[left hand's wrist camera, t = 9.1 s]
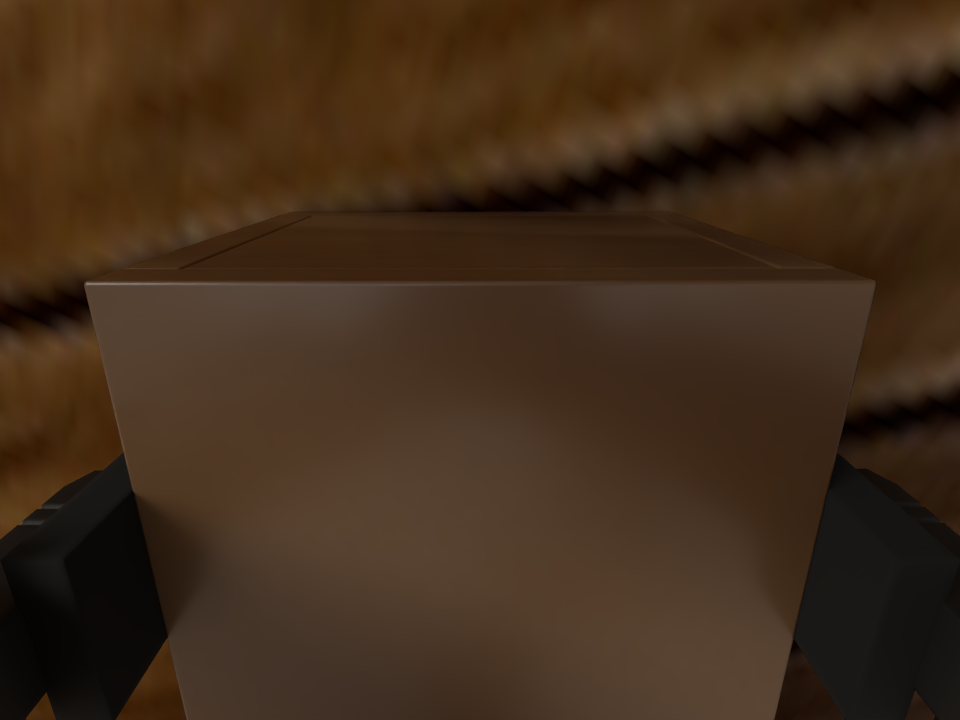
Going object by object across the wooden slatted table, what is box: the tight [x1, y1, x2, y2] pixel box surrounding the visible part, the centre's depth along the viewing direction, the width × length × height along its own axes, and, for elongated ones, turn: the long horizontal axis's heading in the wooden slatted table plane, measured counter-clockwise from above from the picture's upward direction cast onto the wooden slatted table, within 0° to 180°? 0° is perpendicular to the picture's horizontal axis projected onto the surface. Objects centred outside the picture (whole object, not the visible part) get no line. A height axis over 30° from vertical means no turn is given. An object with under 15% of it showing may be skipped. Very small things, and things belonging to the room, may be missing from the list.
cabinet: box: [84, 212, 876, 720], centre depth 15 cm, size 20×10×8 cm, turn 0°
